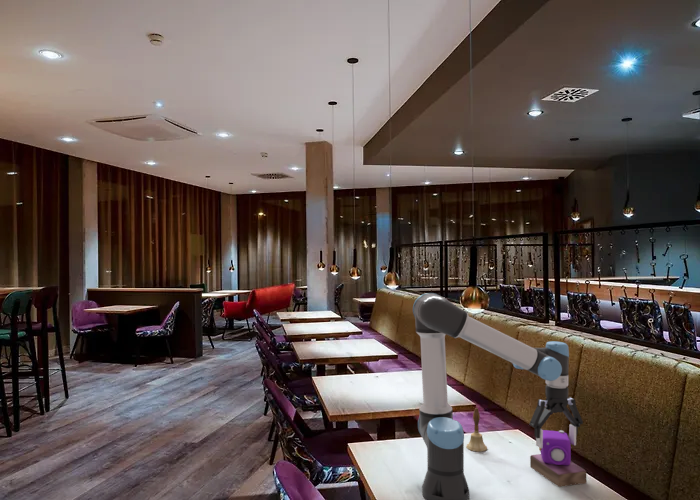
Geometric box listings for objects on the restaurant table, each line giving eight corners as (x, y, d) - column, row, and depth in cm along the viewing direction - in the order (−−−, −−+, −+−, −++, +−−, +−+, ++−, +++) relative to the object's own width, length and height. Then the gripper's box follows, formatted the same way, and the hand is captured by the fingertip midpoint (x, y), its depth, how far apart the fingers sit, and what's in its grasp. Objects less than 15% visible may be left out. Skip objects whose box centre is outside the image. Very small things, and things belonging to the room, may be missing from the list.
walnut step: (558, 486, 165) (558, 473, 165) (530, 466, 181) (530, 454, 181) (586, 483, 168) (586, 470, 168) (556, 463, 183) (556, 452, 183)
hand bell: (462, 446, 200) (461, 407, 200) (477, 442, 204) (477, 404, 204) (476, 453, 193) (475, 413, 193) (491, 449, 197) (491, 409, 197)
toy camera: (546, 470, 168) (546, 441, 168) (535, 454, 181) (534, 427, 182) (579, 471, 167) (578, 442, 167) (565, 455, 180) (564, 428, 181)
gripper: (532, 390, 168) (531, 452, 168) (594, 386, 174) (593, 446, 174) (519, 384, 175) (519, 443, 175) (579, 381, 181) (578, 438, 181)
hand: (556, 445), depth 174 cm, fingers open, 13 cm apart
